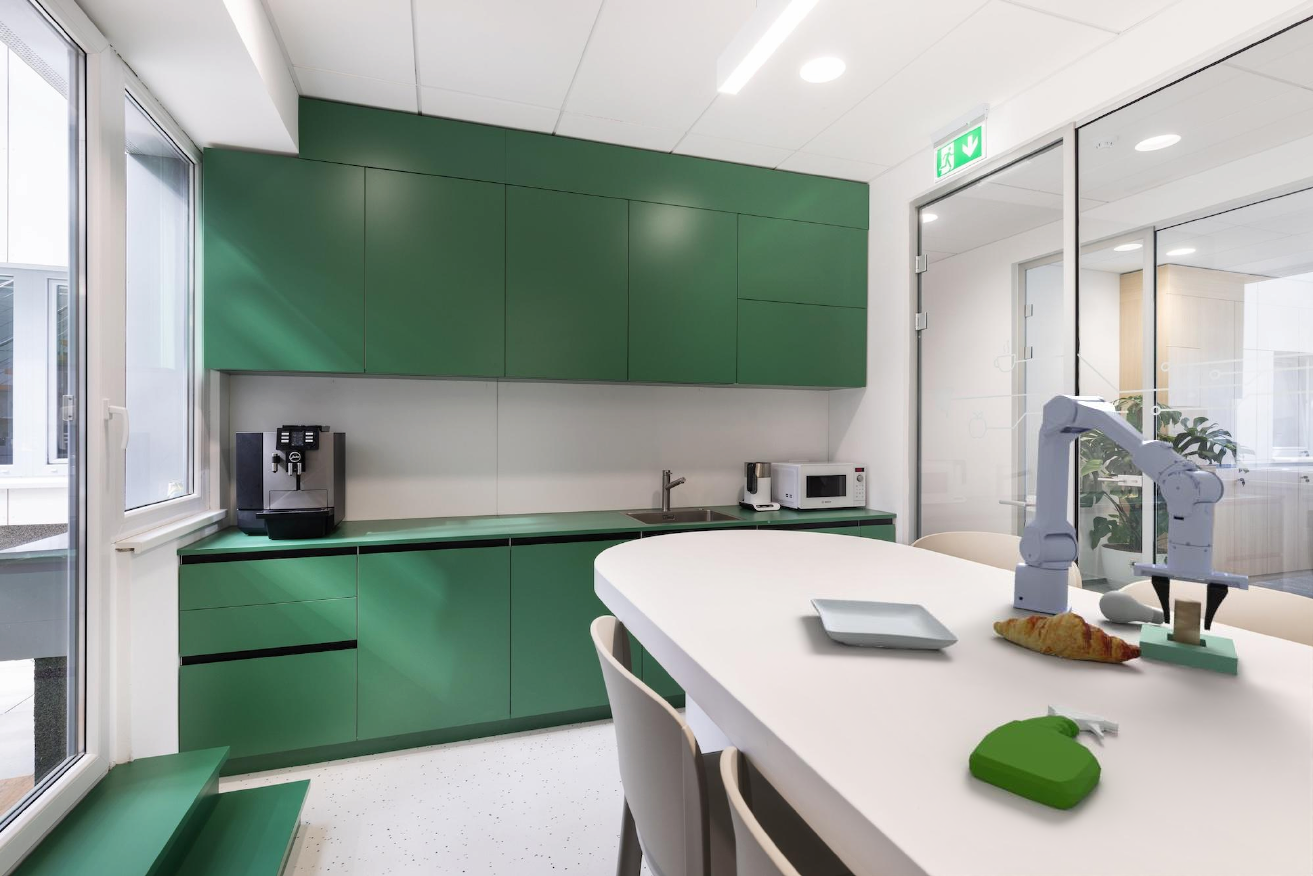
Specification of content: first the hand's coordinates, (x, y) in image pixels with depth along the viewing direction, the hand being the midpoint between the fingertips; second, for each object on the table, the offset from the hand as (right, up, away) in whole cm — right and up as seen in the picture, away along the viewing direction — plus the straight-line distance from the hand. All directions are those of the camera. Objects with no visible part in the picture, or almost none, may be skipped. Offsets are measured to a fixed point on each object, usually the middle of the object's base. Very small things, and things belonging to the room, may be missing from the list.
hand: (1186, 625), depth 107 cm
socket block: (0, -5, 0) cm, 5 cm away
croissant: (-20, -5, +1) cm, 20 cm away
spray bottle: (-43, -6, -33) cm, 55 cm away
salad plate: (-48, -4, +9) cm, 49 cm away
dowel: (0, -5, 0) cm, 5 cm away
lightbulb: (+9, -4, +16) cm, 19 cm away
